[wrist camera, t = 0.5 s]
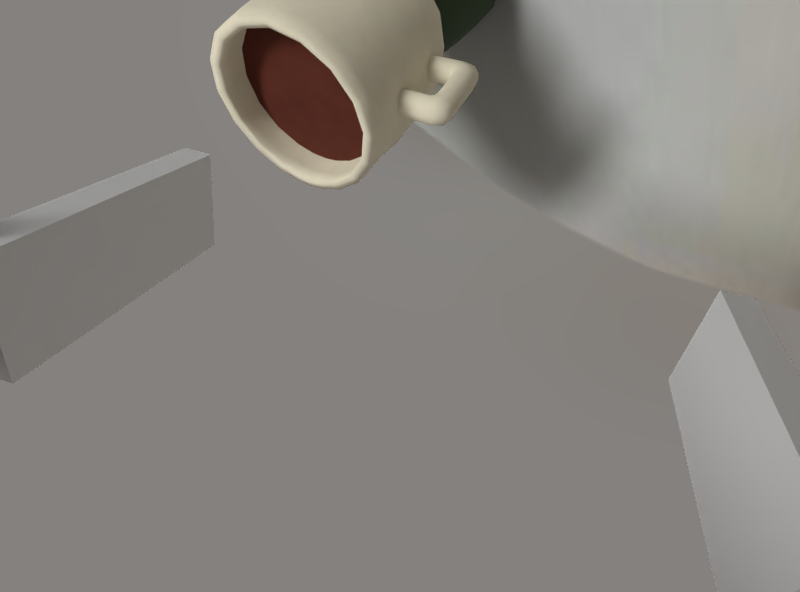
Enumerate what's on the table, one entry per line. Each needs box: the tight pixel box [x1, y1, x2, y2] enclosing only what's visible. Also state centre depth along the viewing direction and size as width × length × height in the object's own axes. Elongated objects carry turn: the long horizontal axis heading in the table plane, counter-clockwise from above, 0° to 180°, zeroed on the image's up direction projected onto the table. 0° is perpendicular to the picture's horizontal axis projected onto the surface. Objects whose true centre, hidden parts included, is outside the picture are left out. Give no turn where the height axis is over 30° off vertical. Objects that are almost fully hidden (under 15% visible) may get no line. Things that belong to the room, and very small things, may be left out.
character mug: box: [210, 0, 495, 189], centre depth 22 cm, size 11×7×13 cm, turn 95°
